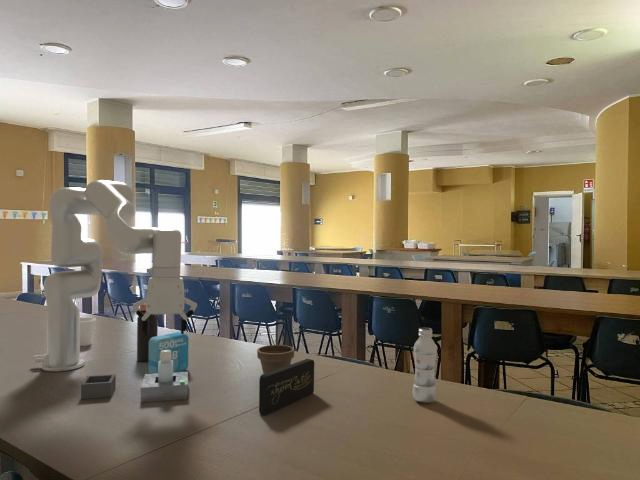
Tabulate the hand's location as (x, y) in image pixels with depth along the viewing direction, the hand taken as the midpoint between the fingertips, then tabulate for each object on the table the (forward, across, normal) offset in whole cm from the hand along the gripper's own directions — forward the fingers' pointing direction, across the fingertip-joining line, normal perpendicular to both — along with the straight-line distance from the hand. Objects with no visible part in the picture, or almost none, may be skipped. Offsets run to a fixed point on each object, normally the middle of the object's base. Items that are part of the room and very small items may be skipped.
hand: (164, 333), depth 133 cm
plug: (+17, +1, -1) cm, 17 cm away
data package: (+18, +1, +19) cm, 26 cm away
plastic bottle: (+15, +70, -23) cm, 75 cm away
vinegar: (+18, -7, +36) cm, 41 cm away
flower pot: (+17, +33, +3) cm, 37 cm away
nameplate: (+16, +33, -16) cm, 40 cm away
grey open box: (+17, -17, +3) cm, 25 cm away
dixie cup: (+19, -33, +64) cm, 75 cm away
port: (+17, +1, -1) cm, 17 cm away
